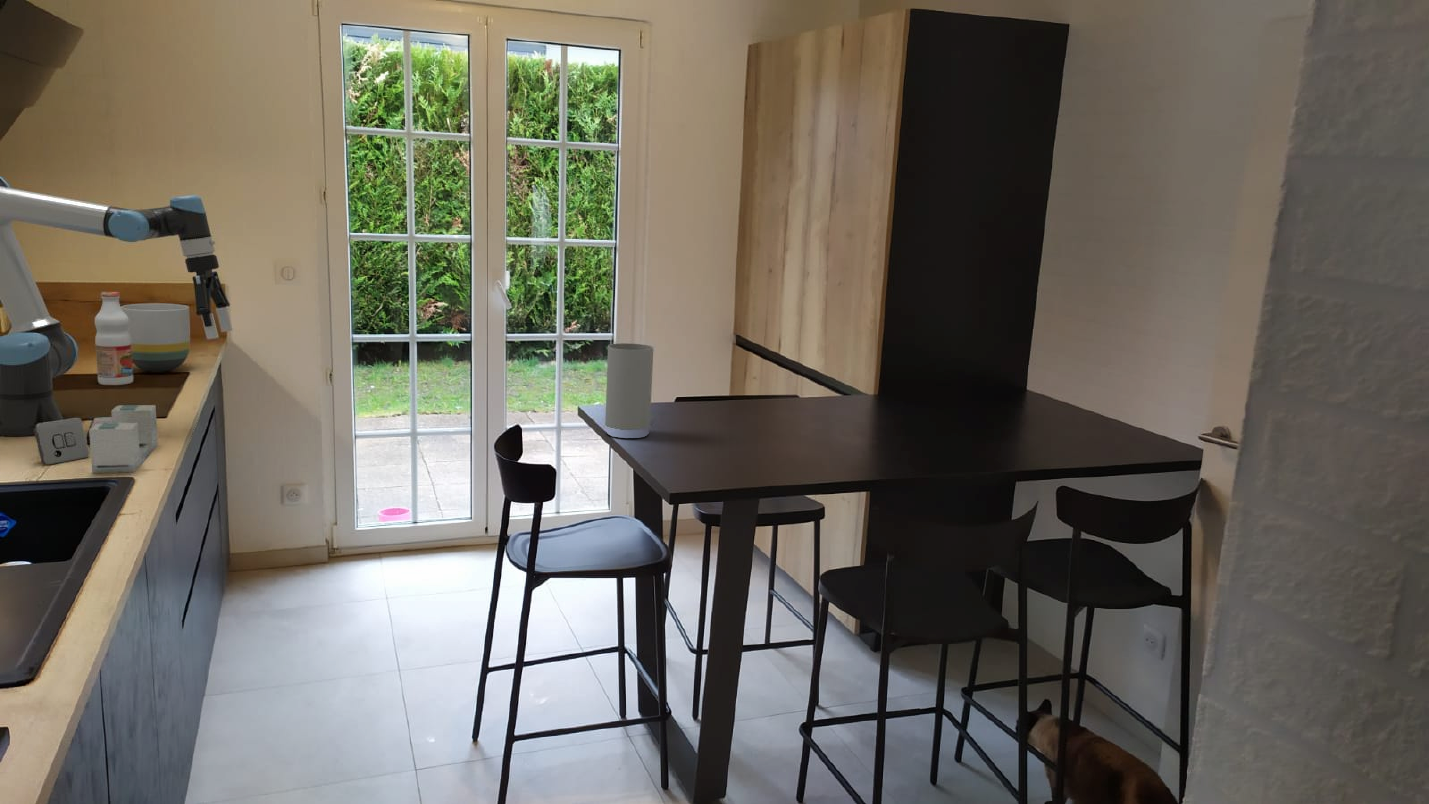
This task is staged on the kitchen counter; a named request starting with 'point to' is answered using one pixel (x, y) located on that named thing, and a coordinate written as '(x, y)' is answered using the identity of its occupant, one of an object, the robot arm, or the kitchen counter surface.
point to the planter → (158, 335)
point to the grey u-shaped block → (123, 439)
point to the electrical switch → (61, 441)
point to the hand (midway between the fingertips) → (220, 334)
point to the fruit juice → (113, 342)
